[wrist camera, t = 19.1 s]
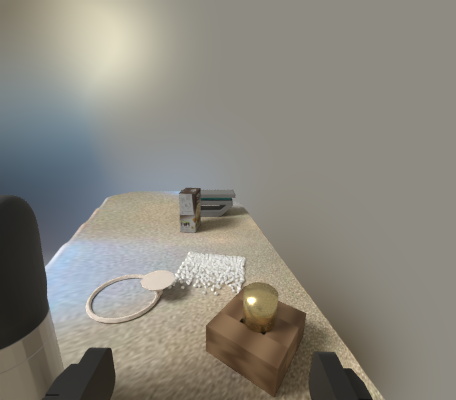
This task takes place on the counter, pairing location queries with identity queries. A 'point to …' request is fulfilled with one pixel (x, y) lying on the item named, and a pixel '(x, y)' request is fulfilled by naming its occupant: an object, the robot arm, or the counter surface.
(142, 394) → the counter surface
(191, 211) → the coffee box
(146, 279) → the hand towel holder
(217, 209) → the grey slotted bar
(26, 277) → the robot arm
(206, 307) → the counter surface
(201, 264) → the salt crystals
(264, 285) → the brass pin
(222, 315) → the walnut block
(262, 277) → the counter surface
